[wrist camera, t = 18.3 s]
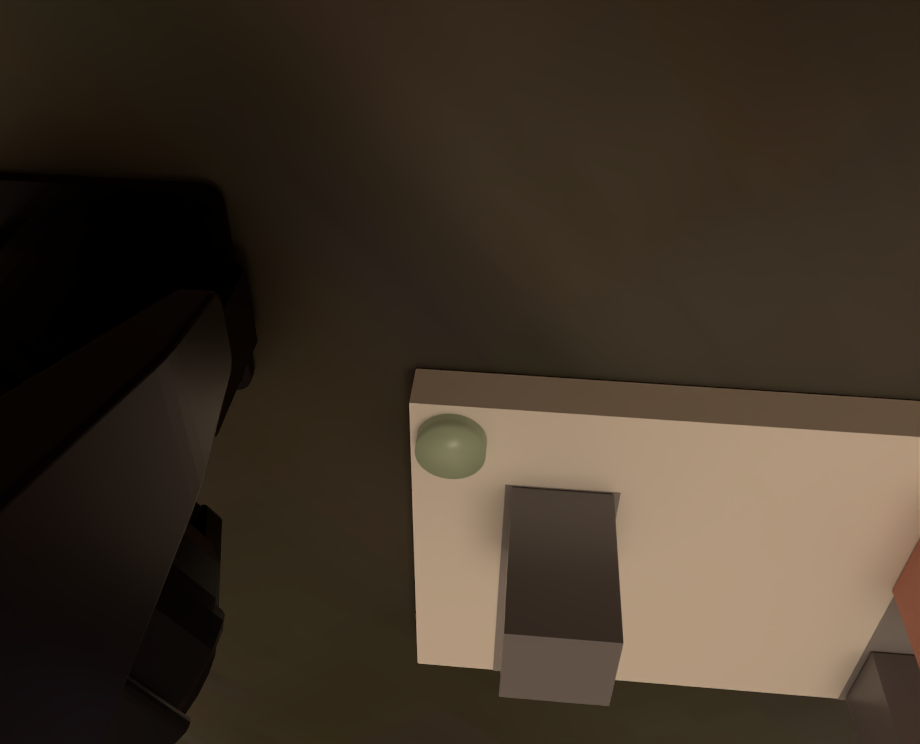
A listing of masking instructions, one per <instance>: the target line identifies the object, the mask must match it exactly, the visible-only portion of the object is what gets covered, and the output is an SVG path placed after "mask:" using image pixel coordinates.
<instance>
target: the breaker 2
mask: <svg viewBox="0 0 920 744" xmlns="http://www.w3.org/2000/svg"><path fill="white" fill-rule="evenodd" d="M846 703H847V706H848V710H849V714H850V717H851V721H852V725H853V728H854V732H855V736H856V740H857V743H858V744H920V669H919V666H918V663H917V660H916V657H915V656H911V655H899V654H887V653H874V652H872V653H871V654H870V656H869V658H868V660H867V662H866V663H865V665H864V667H863V669H862V671H861V672H860V674H859V676H858V678H857V680H856V681H855V683H854V685H853V687H852V689H851V690H850V692H849V694H848V696H847V698H846Z"/></svg>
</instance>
